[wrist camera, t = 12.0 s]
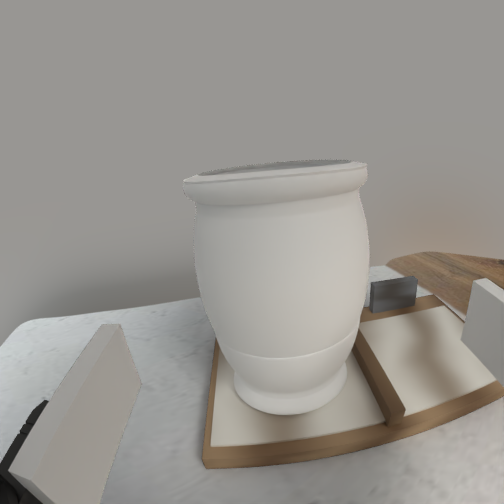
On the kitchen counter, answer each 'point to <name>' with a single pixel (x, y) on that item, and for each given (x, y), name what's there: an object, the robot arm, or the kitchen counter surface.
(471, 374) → the tag board
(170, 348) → the kitchen counter surface
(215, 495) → the kitchen counter surface
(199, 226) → the jar
